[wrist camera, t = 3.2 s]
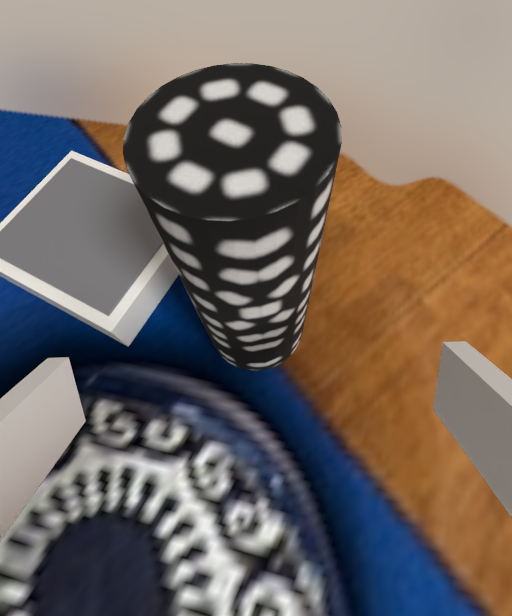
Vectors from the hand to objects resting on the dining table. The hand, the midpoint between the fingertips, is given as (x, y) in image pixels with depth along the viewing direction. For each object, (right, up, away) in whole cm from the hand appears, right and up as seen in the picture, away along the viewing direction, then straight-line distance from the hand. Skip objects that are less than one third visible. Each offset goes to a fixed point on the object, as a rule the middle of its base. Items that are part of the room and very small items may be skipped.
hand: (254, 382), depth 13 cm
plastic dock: (-15, +8, +23) cm, 29 cm away
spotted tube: (0, +1, +19) cm, 19 cm away
